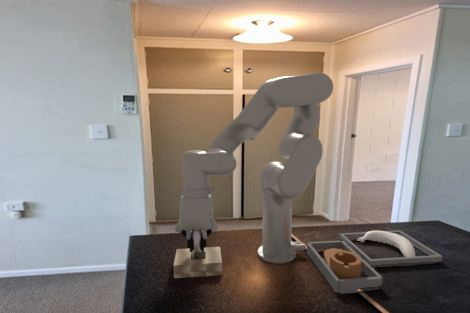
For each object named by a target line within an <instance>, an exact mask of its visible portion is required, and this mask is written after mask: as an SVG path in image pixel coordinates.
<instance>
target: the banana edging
mask: <svg viewBox="0 0 470 313" xmlns="http://www.w3.org/2000/svg"><path fill="white" fill-rule="evenodd" d="M385 231H386V232H391V233H395V234H398V235H401V236H403V237H405V238H406V239H408V240H409V241H410V242H411V244H412V245H413V246H414V247H416V248H418V249H420V250H421V251H423V252H424V253H426V254H428V255H429V256H426V255H418V256H417V255H415V256H414V257H404V256H401V257H386V258H385V257H384V258H371V257H370V256H368V254H366V253H365V252H364V251H363V250H361V248H359V247H358V246H357V245H356V244H355V243H353V241H352V240H349V239H348V238H361V237H363V236H364V235H365V234H366V233H367V232H368V231H363V232H362V231H361V232H346V233H344V232H342V233H339V234H338V235H339V236H338V238H339V237H340V238H341V239H342V240H343V241H344V242H345V243H346V244H348V245H349V246H350V247H351V248H352V249H353V250H354V251H355V252H356V253H357V254H358V255H359V256H360V257H362V258H363V259H364V260H365V261H366V262H367V263H368V264H369V265H382V264H398V263H418V262H438V261H442V262H443V256H442V255H441V254H439V253H438V252H436V251H435V250H433V249H432V248H429V247H428V246H426V245H424V244H423V243H422V242H420V241H418V240H417V239H415V238H413V237H412V236H410V235H409V234H407V233H405V232H403V231H401V230H397V229H396V230H385Z"/></svg>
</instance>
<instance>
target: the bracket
mask: <svg viewBox="0 0 470 313" xmlns="http://www.w3.org/2000/svg"><path fill="white" fill-rule="evenodd" d="M324 259H325V262H326V264H327V265H328V266H329V267H330V269H331V270H332V271H333V272H334V274H335V275H336V276H337V277H338V279H352V278H361V274H362V272H361V258H360V257H359V256H358V255H356V254H355V253H352V252H349V251H345V250H342V249H337V248H330V249H327V250H325V251H324V252H323V260H324Z"/></svg>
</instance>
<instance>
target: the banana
mask: <svg viewBox="0 0 470 313" xmlns="http://www.w3.org/2000/svg"><path fill="white" fill-rule="evenodd" d="M386 231H387V230H369V231H366V232H367V233H366V234H365V235H364V236H363V237H361V238H358V239H357V241H361V242H363V243H364V242H365V241H366V240H367V241H371V242H376V241H377V242H376V243H381V242H382V243H381V244H386V243H387V244H386V245H389V244H390V246H392V245H393V246H392V247H394V248H397V249H398V250H400V252H401V253H402V255H403V257H414V256H416V249H415V248H414V247H413V245H412V244H411V242H410V241H409V240H408V239H406V238H405V237H403V236H401V235H398V234H395V233H391V232H386ZM361 242H360V243H361Z"/></svg>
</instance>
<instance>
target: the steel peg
mask: <svg viewBox="0 0 470 313" xmlns="http://www.w3.org/2000/svg"><path fill="white" fill-rule="evenodd" d="M202 234H203V232H202V230H191V235H192V260H193V259H202Z"/></svg>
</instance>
